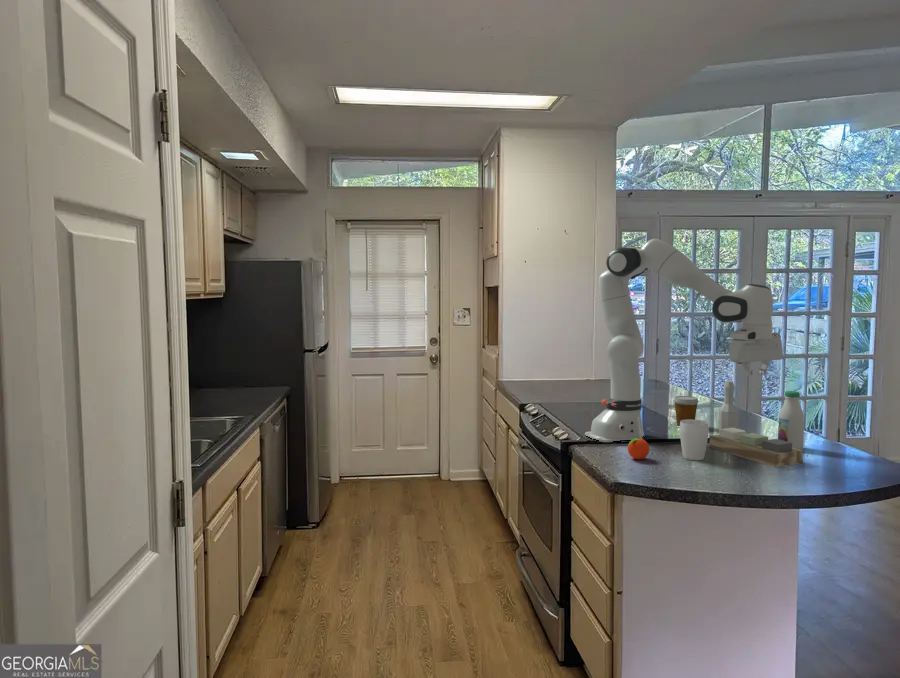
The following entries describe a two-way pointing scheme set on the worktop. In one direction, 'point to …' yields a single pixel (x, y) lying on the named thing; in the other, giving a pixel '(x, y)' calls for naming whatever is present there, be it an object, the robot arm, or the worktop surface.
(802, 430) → the milk bottle
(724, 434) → the off-white key
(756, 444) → the sage green key
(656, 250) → the robot arm
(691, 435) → the cup
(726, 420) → the faceted bottle
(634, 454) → the clementine
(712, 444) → the oak key console
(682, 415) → the disposable coffee cup
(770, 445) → the charcoal key
